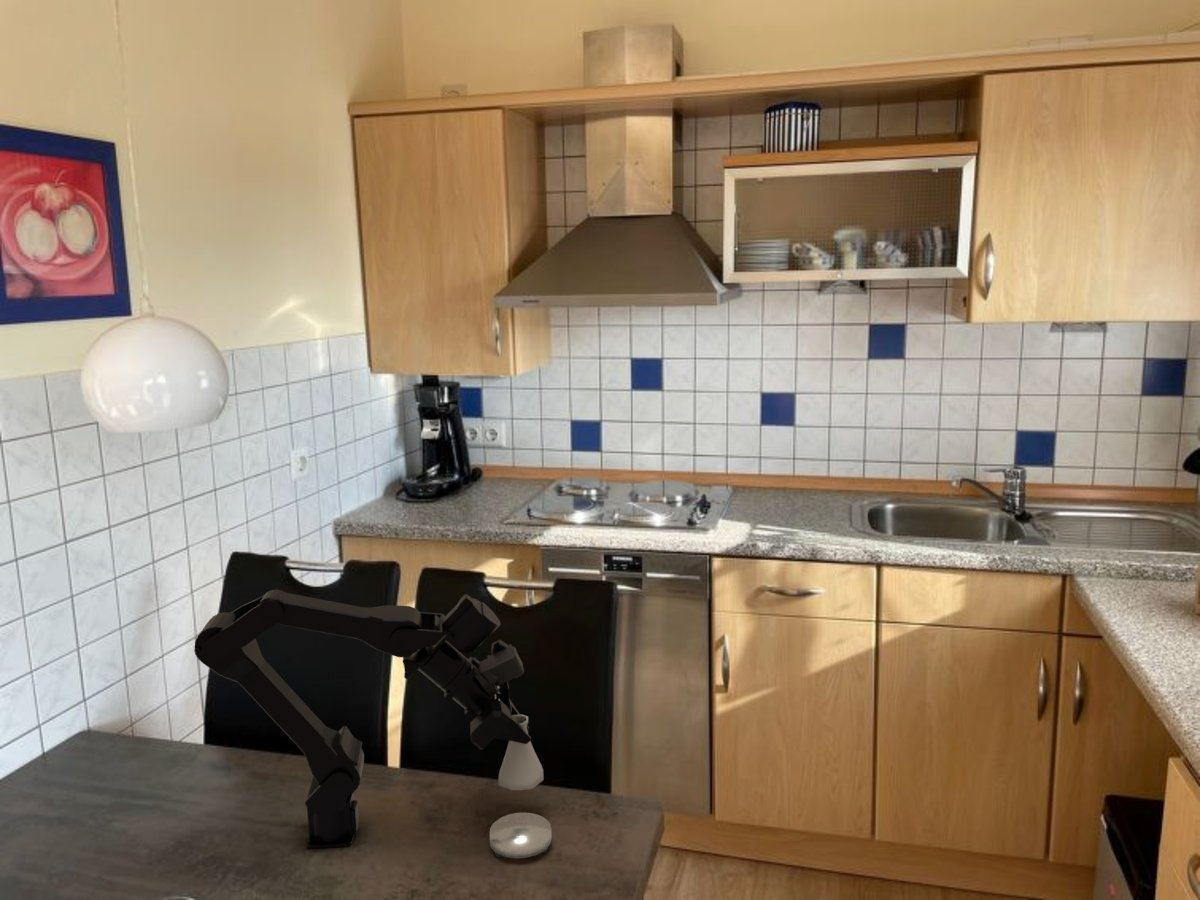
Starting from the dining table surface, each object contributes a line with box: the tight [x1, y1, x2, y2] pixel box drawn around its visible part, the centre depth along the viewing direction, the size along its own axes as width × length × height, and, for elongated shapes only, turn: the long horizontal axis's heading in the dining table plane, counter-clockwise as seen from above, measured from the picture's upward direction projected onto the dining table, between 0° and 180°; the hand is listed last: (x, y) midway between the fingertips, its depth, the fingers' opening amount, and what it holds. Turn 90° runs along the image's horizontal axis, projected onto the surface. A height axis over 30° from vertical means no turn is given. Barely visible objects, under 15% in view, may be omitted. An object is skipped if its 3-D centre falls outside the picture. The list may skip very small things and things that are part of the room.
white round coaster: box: [489, 812, 553, 859], centre depth 134 cm, size 9×9×2 cm
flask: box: [497, 713, 544, 791], centre depth 140 cm, size 7×7×10 cm
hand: (528, 736), depth 139 cm, fingers closed on flask, 3 cm apart
